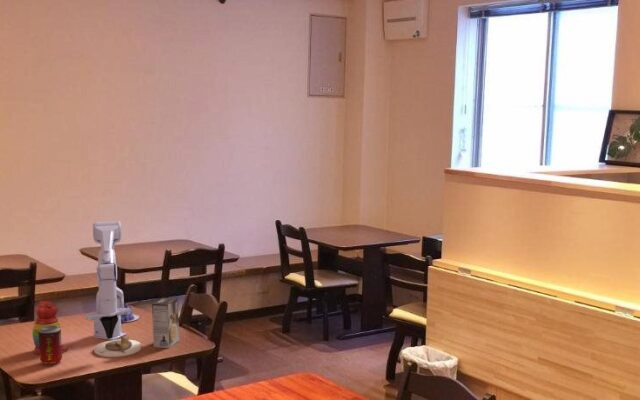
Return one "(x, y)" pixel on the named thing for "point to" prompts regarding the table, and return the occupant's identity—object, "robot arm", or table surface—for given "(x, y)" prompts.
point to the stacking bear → (45, 321)
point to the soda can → (50, 345)
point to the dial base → (104, 352)
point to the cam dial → (119, 344)
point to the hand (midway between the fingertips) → (109, 337)
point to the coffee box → (165, 322)
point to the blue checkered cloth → (128, 316)
